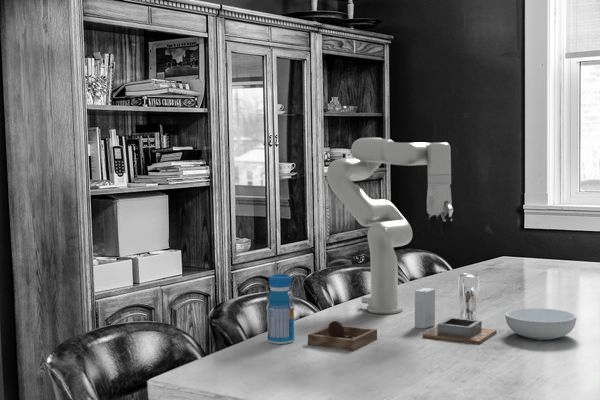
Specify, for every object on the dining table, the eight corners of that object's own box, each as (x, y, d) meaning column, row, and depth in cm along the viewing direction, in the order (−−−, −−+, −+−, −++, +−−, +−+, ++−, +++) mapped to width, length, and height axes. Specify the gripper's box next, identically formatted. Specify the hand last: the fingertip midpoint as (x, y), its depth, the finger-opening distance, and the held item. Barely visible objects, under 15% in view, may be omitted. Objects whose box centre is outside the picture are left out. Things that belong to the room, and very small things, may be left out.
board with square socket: (422, 337, 252) (422, 324, 251) (441, 326, 265) (441, 314, 265) (479, 344, 242) (479, 331, 242) (496, 332, 256) (496, 320, 256)
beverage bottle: (274, 346, 244) (273, 279, 242) (262, 340, 252) (261, 275, 250) (299, 342, 248) (298, 276, 246) (287, 336, 255) (286, 272, 254)
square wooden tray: (307, 344, 245) (307, 334, 245) (332, 333, 258) (332, 324, 258) (353, 350, 237) (353, 340, 237) (377, 339, 250) (377, 329, 250)
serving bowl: (576, 330, 257) (576, 309, 257) (575, 347, 238) (576, 323, 237) (508, 326, 264) (508, 305, 264) (502, 342, 244) (502, 319, 244)
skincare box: (423, 323, 270) (423, 287, 269) (435, 325, 267) (435, 288, 266) (413, 327, 265) (413, 290, 264) (425, 329, 262) (425, 291, 261)
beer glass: (479, 322, 271) (479, 277, 270) (457, 321, 272) (457, 276, 271) (479, 317, 278) (479, 273, 277) (458, 316, 279) (458, 273, 278)
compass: (360, 342, 248) (360, 318, 247) (341, 346, 242) (341, 322, 242) (341, 337, 254) (341, 314, 253) (322, 342, 248) (322, 318, 248)
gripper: (418, 179, 277) (419, 230, 278) (440, 181, 260) (441, 235, 261) (438, 179, 279) (439, 229, 280) (461, 180, 262) (462, 234, 263)
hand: (440, 232), depth 271 cm, fingers open, 9 cm apart
